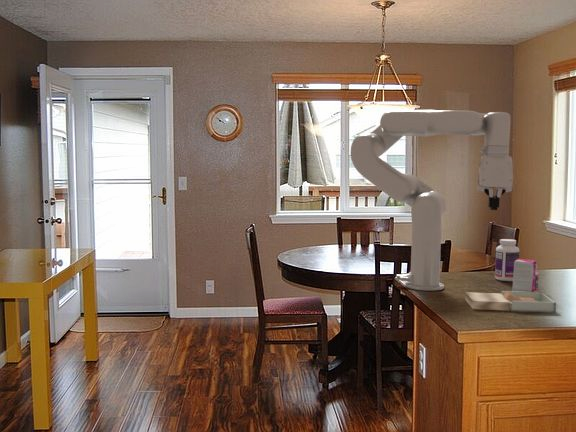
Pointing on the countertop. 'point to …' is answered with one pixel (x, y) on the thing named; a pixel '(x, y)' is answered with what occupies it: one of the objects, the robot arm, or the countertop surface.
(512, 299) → the tile
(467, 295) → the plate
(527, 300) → the tile
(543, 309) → the tray
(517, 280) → the supplement box
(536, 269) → the pill bottle
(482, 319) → the countertop surface
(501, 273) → the pill bottle
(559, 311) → the countertop surface
